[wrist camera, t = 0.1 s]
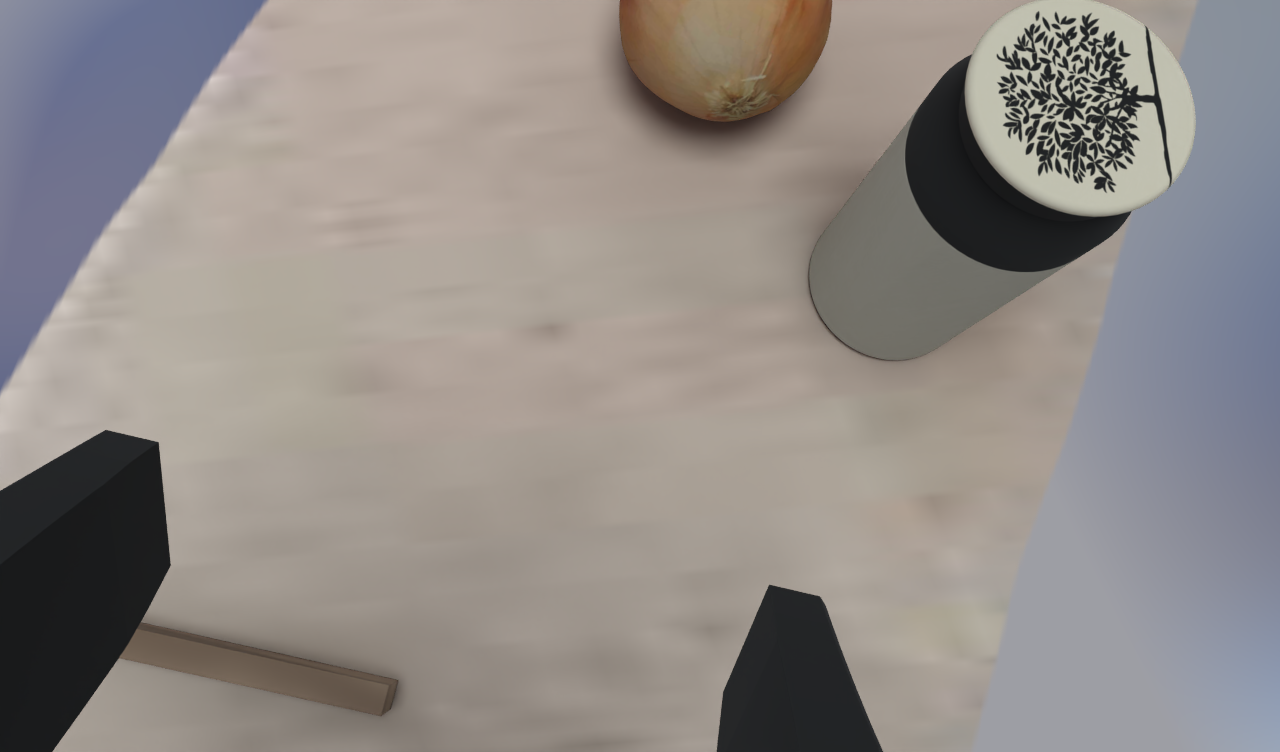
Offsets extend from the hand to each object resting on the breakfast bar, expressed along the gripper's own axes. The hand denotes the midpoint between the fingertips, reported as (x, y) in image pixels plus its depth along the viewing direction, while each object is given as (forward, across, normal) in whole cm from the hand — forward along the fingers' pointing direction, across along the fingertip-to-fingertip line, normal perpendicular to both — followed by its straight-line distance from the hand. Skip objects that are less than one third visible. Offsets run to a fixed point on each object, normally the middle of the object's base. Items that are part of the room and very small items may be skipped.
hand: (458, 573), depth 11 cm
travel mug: (+35, -14, +12) cm, 40 cm away
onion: (+42, -2, +6) cm, 42 cm away
